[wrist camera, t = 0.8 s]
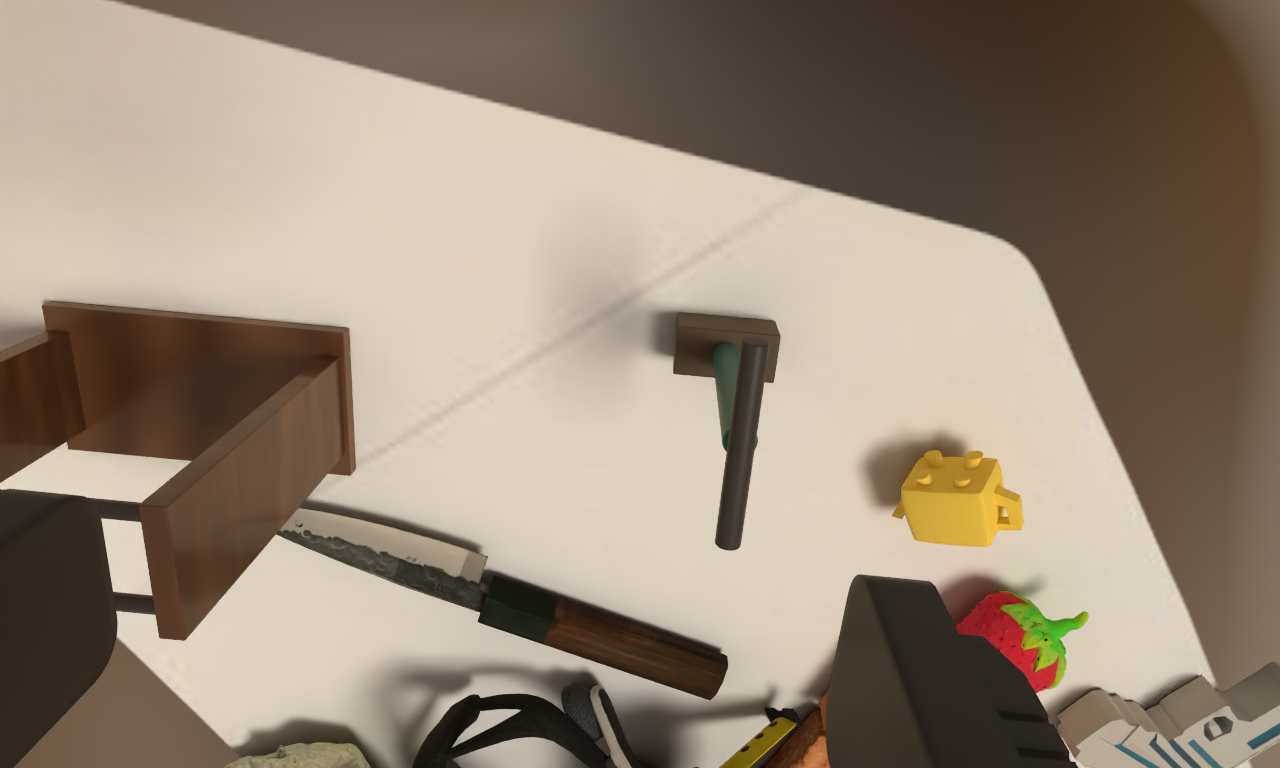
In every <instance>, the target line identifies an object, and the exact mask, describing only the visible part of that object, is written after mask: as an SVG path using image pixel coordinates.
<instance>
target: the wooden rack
mask: <svg viewBox="0 0 1280 768" xmlns="http://www.w3.org/2000/svg"><path fill="white" fill-rule="evenodd" d="M42 310H43V315H44V320H45V326H46V331H47V332H45V333H43V334H40V335H38V336H36V337H33V338H31V339H29V340H26V341H24V342H22V343H19V344H17V345H15V346H12V347H10V348H8V349H5V350H3V351H1V352H0V483H1V482H2V481H4V480H5V479H7V478H9V477H10V476H12V475H14V474H15V473H17V472H18V471H20V470H22V469H23V468H25V467H26V466H28V465H30V464H31V463H33V462H35V461H36V460H38V459H39V458H41V457H43V456H44V455H46V454H47V453H49V452H51V451H52V450H54V449H56V448H57V447H59V446H60V445H62V444H64V443H65V442H67V445H68V449H72V450H82V451H93V452H103V453H114V454H125V455H135V456H146V457H157V458H167V459H178V460H189V461H192V462H191V463H189V464H188V465H187V466H186V467H185V468H183V469H182V470H181V471H180V472H178V473H177V474H176V475H175V476H174V477H172V478H171V479H170V480H169V481H167V482H166V483H165V484H164V485H163V486H161V487H160V488H159V489H158V490H156V491H155V492H154V493H153V494H152V495H150V496H149V497H148V498H147V499H145V500H144V501H143V502H142V503H137V502H126V501H116V500H105V499H95V498H88V499H90V500H91V501H92V502H93V503H94V504H95V505H96V507H97V509H98V511H99V513H100V517H101V518H105V519H115V520H126V521H136V522H141V524H142V530H143V536H144V543H145V549H146V556H147V562H148V569H149V575H150V581H151V588H152V594H153V596H150V595H140V594H130V593H119V592H113V595H114V602H115V608H116V611H122V612H133V613H143V614H153V615H156V620H157V626H158V633H159V638H162V639H173V640H183V641H184V640H186V639H187V638H188V636H189V635H190V634H191V633H192V632H193V631H194V629H195V628H196V627H197V626H198V625H199V624H200V622H201V621H202V620H203V619H204V618H205V617H206V615H207V614H208V613H209V612H210V611H211V610H212V608H213V607H214V606H215V605H216V604H217V603H218V601H219V600H220V599H221V598H222V597H223V596H224V594H225V593H226V592H227V591H228V590H229V589H230V587H231V586H232V585H233V584H234V583H235V582H236V580H237V579H238V578H239V577H240V576H241V575H242V573H243V572H244V571H245V570H246V569H247V567H248V566H249V565H250V564H251V563H252V562H253V560H254V559H255V558H256V557H257V556H258V555H259V553H260V552H261V551H262V550H263V549H264V548H265V546H266V545H267V544H268V543H269V542H270V541H271V539H272V538H273V537H274V536H275V535H276V534H277V532H278V531H279V530H280V529H281V528H282V527H283V525H284V524H285V523H286V522H287V521H288V520H289V518H290V517H291V516H292V515H293V514H294V513H295V511H296V510H297V509H298V508H299V507H300V506H301V504H302V503H303V502H304V501H305V500H306V499H307V497H308V496H309V495H310V494H311V493H312V492H313V490H314V489H315V488H316V487H317V486H318V484H319V483H320V482H321V481H322V480H323V479H324V477H325V476H326V475H327V474H338V475H348V476H350V475H352V473H353V472H354V471H355V469H356V464H355V442H354V421H353V400H352V379H351V358H350V336H349V329H348V328H339V327H328V326H317V325H306V324H295V323H285V322H274V321H263V320H252V319H241V318H230V317H219V316H208V315H197V314H187V313H176V312H165V311H154V310H143V309H132V308H121V307H110V306H99V305H89V304H78V303H67V302H56V301H52V302H49V303H47V304H44V305H42ZM0 491H2V490H0Z"/></svg>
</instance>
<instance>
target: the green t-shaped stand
mask: <svg viewBox="0 0 1280 768" xmlns="http://www.w3.org/2000/svg"><path fill="white" fill-rule="evenodd" d="M779 344H780V334H779V331H778V328H777V325H776V323H775V321H768V320H757V319H746V318H735V317H724V316H713V315H702V314H691V313H678V318H677V328H676V338H675V348H674V360H673V373H674V374H680V375H691V376H702V377H713V378H715V381H716V390H717V399H718V408H719V417H720V426H721V435H722V444H723V447H724V449H725V450H726V452H727V454H726V462H725V469H724V477H723V485H722V492H721V500H720V507H719V515H718V522H717V530H716V538H715V543H716V545H717V546H718V547H719V548H721V549H724V550H736V549H738V548H739V547H740V545H741V539H742V532H743V525H744V518H745V511H746V504H747V497H748V491H749V484H750V477H751V470H752V463H753V456H754V450H755V448H756V446H757V443H758V438H757V429H758V422H759V415H760V408H761V401H762V394H763V387H764V382H767V383H773V382H774V377H775V371H776V364H777V357H778V351H779Z"/></svg>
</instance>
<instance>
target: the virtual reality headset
mask: <svg viewBox="0 0 1280 768" xmlns="http://www.w3.org/2000/svg"><path fill="white" fill-rule="evenodd" d="M561 700H562V705H563V709H564V711H565V713H566V714H565V713H564V712H563V711H561V710H560V709H559V708H558V707H556V706H555V705H554V704H552V703H551V702H549V701H547V700H545V699H543V698H540V697H537V696H533V695H528V694H503V695H496V696H490V697H485V698H480V697H479V695H475V694H473V695H470V696H468V697H466V698H464V699H462V700H461V701H459V702H457V703H456V704H454V705H453V706H451V707H450V709H449V710H448V711H447V712H446V714H445V715H444V716H443V718H442V719H441V720H440V722H439V723H438V724H437V725H436V726H435V727H434V729H433V730H432V731H431V732H430V733H429V735H428V736H427V738H426V739H425V741H424V742H423V744H422V746H421V747H420V749H419V751H418V754H417V756H416V758H415V760H414V763H413V766H412V768H460V767H459V766H458V765H457V764H456V763H454V762H452V761H451V759H454V758H456V757H459V756H462V755H464V754H467V753H470V752H472V751H475V750H478V749H481V748H484V747H487V746H490V745H494V744H497V743H500V742H503V741H507V740H511V739H516V738H524V737H539V738H545V739H548V740H551V741H554V742H555V743H557V744H559V745H560V746H562V747H563V748H565V749H567V750H568V751H570V752H571V753H572V754H574V755H575V756H576V757H577V758H578V759H579V760H581V761H582V762H583V763H584V764H585V765H587V766H588V767H589V768H653V767H652V766H651V765H650V764H649V763H647V762H646V761H645V760H641V759H639V760H637V758H636V756H635V754H634V753H633V751H632V749H631V747H630V746H629V744H628V742H627V739H626V737H625V735H624V732H623V730H622V727H621V725H620V723H619V720H618V718H617V716H616V713H615V711H614V708H613V706H612V703H611V701H610V699H609V697H608V695H607V693H606V692H605V690H604V689H603V688H602V687H600V686H598V685H596V686H594V687H593V688H592V689H591V690H590V689H588V688H587V687H585V686H584V685H582V684H580V683H576V682H573V683H571V684H570V685H569V686H567V687H566V688H564V689H563V691H562V692H561ZM496 709H519V710H521V711H520V712H519V713H517V714H515V715H513V716H512V717H510V718H508V719H506V720H505V721H503V722H501V723H499V724H498V725H496V726H494V727H492V728H490V729H488V730H486V731H484V732H482V733H480V734H478V735H476V736H474V737H472V738H470V739H468V740H467V741H465V742H463V743H461V744H459V745H457V746H455V747H453V748H452V746H453V745H454V743H455V741H456V740H457V738H458V737H459V736H460V735H461V734H462V733H463V731H464V730H465V729H466V728H468V727H469V726H470V725H471V724H473V723H474V722H475V721H476V720H477V718H478V716H479V714H480V711H486V710H496ZM603 736H604V738H605V740H606V742H607V745H608V747H609V749H610V754H609V756H607V755H606V754H605V753H604V752H603V751H602V750H601V749H600V748H599V747H598V746H597V745H596V744H595V743H594V742H596V741H598V740H599V739H600V738H602V737H603Z"/></svg>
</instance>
